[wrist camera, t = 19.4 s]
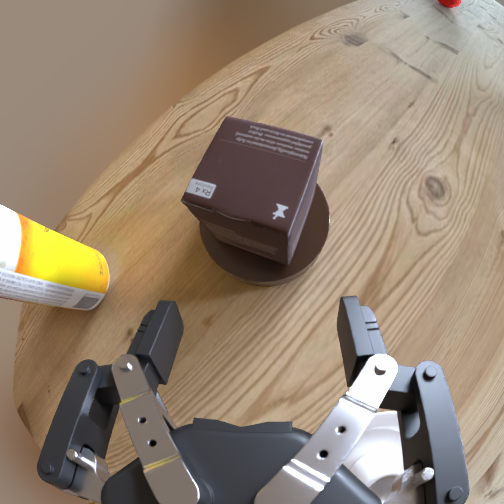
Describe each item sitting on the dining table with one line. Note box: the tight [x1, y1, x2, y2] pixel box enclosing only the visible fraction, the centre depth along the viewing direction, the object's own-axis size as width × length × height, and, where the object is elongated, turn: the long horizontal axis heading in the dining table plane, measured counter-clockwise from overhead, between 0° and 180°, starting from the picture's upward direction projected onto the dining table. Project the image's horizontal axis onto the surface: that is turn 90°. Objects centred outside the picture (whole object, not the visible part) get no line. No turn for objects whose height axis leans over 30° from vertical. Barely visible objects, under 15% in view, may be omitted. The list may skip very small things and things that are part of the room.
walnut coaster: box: [200, 183, 330, 286], centre depth 22 cm, size 10×10×2 cm
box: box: [181, 116, 323, 265], centre depth 17 cm, size 6×6×7 cm
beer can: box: [0, 205, 109, 311], centre depth 17 cm, size 6×6×15 cm
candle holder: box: [343, 412, 404, 502], centre depth 15 cm, size 12×12×4 cm
